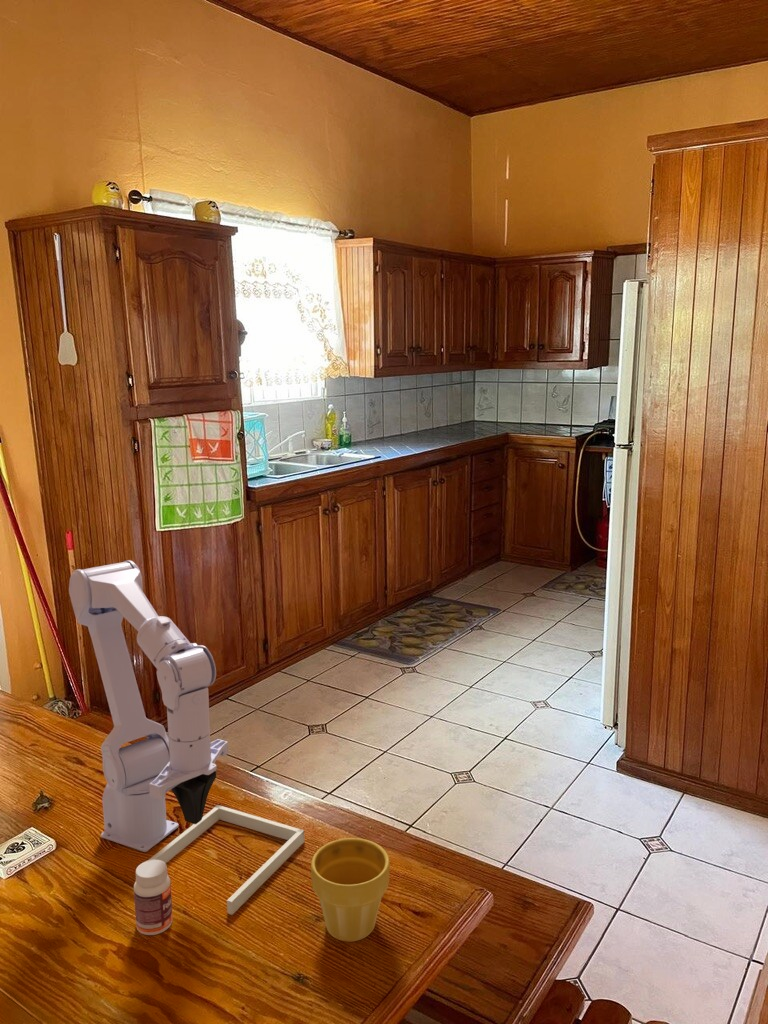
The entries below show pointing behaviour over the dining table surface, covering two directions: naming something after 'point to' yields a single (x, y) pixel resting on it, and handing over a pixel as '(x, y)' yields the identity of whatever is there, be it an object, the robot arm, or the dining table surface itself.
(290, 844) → the white u-shaped open frame
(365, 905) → the plant pot
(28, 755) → the dining table surface
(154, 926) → the pill bottle
